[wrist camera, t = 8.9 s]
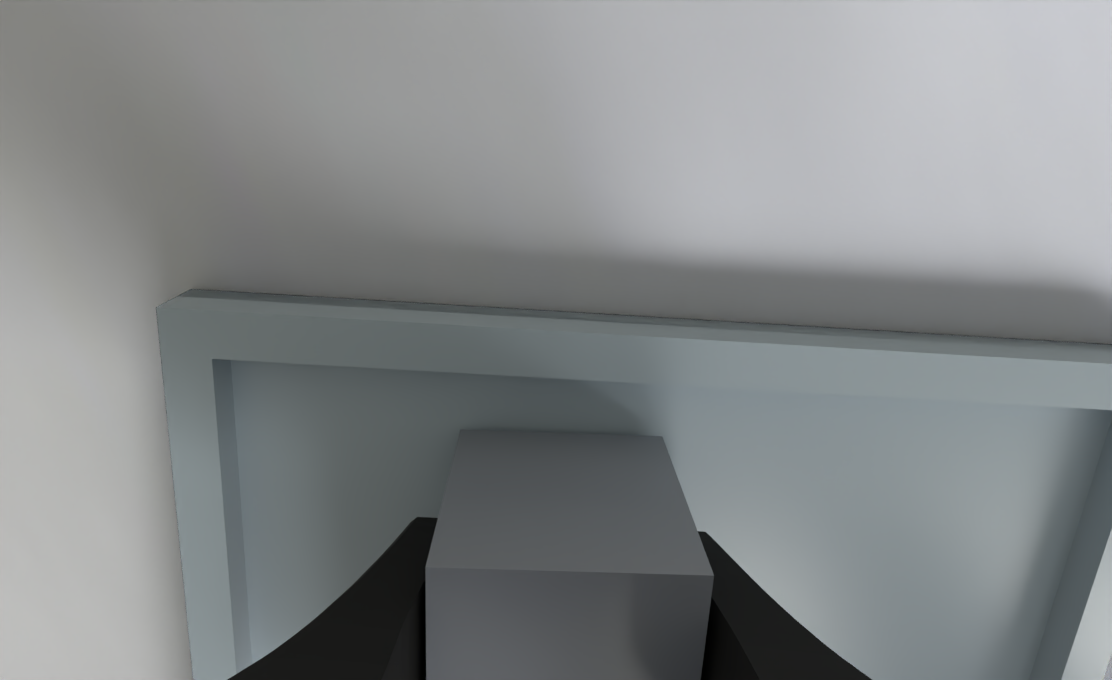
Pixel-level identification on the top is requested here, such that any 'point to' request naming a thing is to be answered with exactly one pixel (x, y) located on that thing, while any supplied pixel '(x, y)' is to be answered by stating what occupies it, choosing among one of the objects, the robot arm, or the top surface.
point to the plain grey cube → (565, 562)
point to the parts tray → (696, 453)
